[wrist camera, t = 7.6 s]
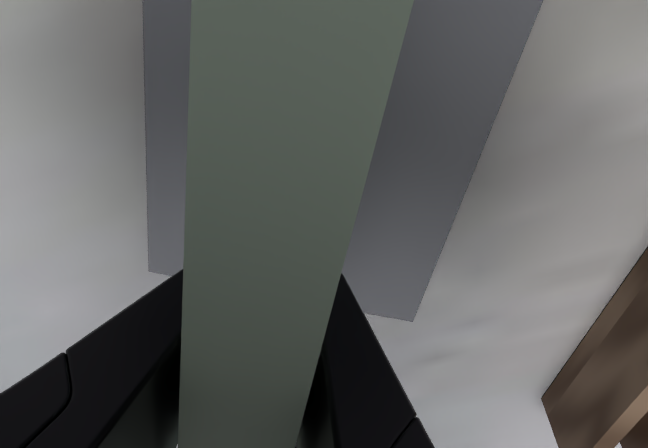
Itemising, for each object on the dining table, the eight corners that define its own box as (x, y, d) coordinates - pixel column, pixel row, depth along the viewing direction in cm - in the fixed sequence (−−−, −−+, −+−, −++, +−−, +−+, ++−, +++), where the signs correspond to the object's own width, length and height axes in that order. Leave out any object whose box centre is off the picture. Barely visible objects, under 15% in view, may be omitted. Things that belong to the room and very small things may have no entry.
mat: (411, 314, 22) (412, 321, 22) (152, 264, 22) (148, 271, 21) (612, -189, 12) (621, -192, 12) (143, -300, 12) (135, -308, 11)
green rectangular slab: (304, 284, 19) (247, 622, 10) (265, 277, 19) (173, 610, 10) (396, -145, 12) (507, -351, 3) (332, -160, 12) (206, -428, 2)
